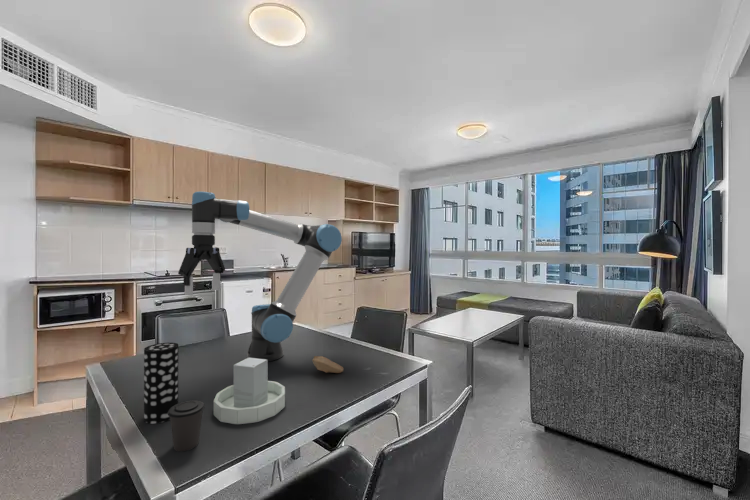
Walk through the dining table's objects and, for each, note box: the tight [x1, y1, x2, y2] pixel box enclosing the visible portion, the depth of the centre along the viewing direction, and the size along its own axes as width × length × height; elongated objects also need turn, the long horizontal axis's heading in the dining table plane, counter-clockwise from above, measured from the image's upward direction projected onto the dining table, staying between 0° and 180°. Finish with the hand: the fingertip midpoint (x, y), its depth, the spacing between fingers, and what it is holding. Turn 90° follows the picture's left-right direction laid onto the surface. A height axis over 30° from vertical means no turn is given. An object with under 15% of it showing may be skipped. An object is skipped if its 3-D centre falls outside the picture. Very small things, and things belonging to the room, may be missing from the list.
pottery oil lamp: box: [312, 355, 344, 374], centre depth 130 cm, size 9×12×7 cm
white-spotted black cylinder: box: [143, 342, 179, 425], centre depth 97 cm, size 8×8×20 cm
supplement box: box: [232, 358, 269, 408], centre depth 103 cm, size 7×7×13 cm
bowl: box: [213, 380, 286, 425], centre depth 103 cm, size 20×20×4 cm
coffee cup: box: [167, 399, 206, 452], centre depth 83 cm, size 8×8×10 cm
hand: (203, 292), depth 124 cm, fingers open, 13 cm apart
